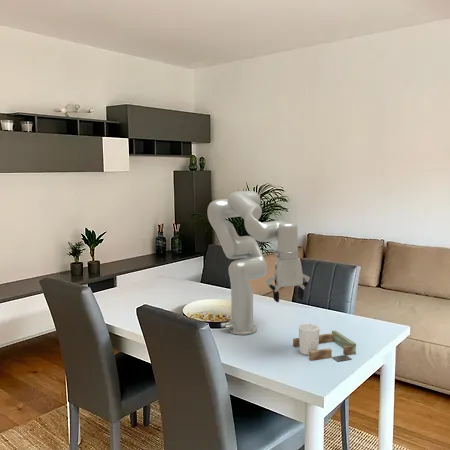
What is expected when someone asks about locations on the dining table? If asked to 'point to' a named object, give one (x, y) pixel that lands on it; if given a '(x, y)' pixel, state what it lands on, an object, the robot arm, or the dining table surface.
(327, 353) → the brown and green pieces
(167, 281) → the dining table surface
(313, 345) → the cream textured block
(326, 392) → the dining table surface
